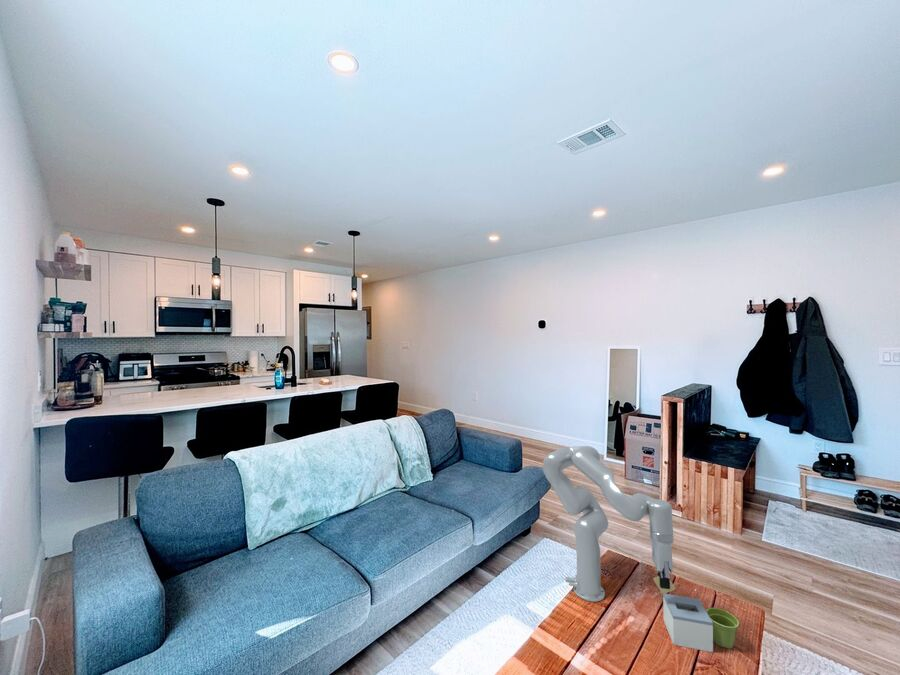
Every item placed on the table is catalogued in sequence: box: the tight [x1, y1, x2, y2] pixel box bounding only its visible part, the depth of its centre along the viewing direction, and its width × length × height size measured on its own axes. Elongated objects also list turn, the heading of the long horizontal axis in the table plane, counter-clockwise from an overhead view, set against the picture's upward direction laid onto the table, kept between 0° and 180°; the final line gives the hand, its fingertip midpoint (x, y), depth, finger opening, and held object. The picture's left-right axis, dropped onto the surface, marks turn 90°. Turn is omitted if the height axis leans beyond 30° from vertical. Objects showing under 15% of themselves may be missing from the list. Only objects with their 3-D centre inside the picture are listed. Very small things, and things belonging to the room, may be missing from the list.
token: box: [652, 575, 676, 595], centre depth 135 cm, size 5×2×5 cm
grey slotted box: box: [662, 593, 714, 653], centre depth 132 cm, size 12×12×10 cm
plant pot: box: [705, 607, 740, 649], centre depth 130 cm, size 9×9×9 cm
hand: (664, 585), depth 135 cm, fingers closed on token, 1 cm apart
